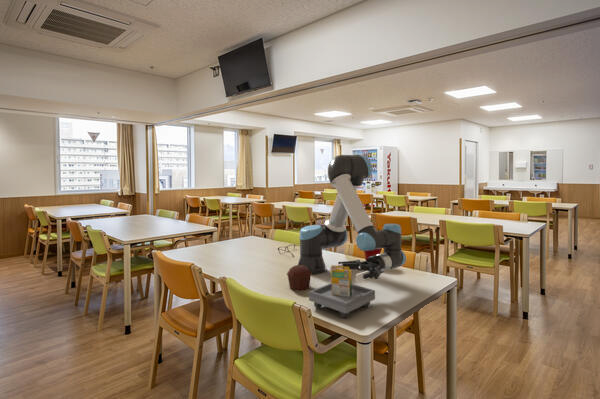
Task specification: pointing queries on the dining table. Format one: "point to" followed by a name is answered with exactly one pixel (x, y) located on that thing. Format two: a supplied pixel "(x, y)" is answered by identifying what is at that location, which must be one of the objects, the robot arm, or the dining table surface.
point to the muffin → (299, 278)
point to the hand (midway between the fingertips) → (343, 274)
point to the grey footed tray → (342, 298)
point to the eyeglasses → (288, 250)
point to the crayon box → (341, 281)
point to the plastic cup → (372, 253)
